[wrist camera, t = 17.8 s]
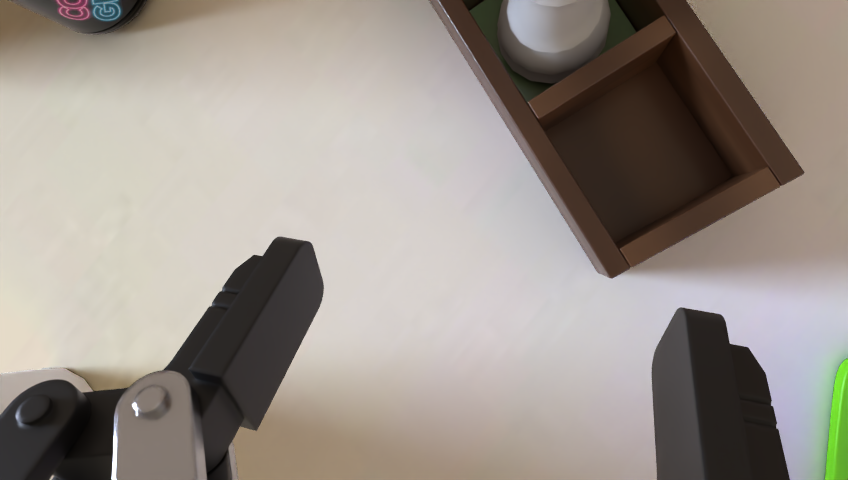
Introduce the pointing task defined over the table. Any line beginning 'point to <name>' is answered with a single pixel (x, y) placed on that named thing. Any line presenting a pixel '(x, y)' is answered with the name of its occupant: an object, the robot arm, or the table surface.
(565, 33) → the rook chess piece
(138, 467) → the robot arm
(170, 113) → the table surface
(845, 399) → the toy room diorama
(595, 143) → the compartment tray
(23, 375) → the foam cup
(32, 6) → the supplement container
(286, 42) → the table surface
